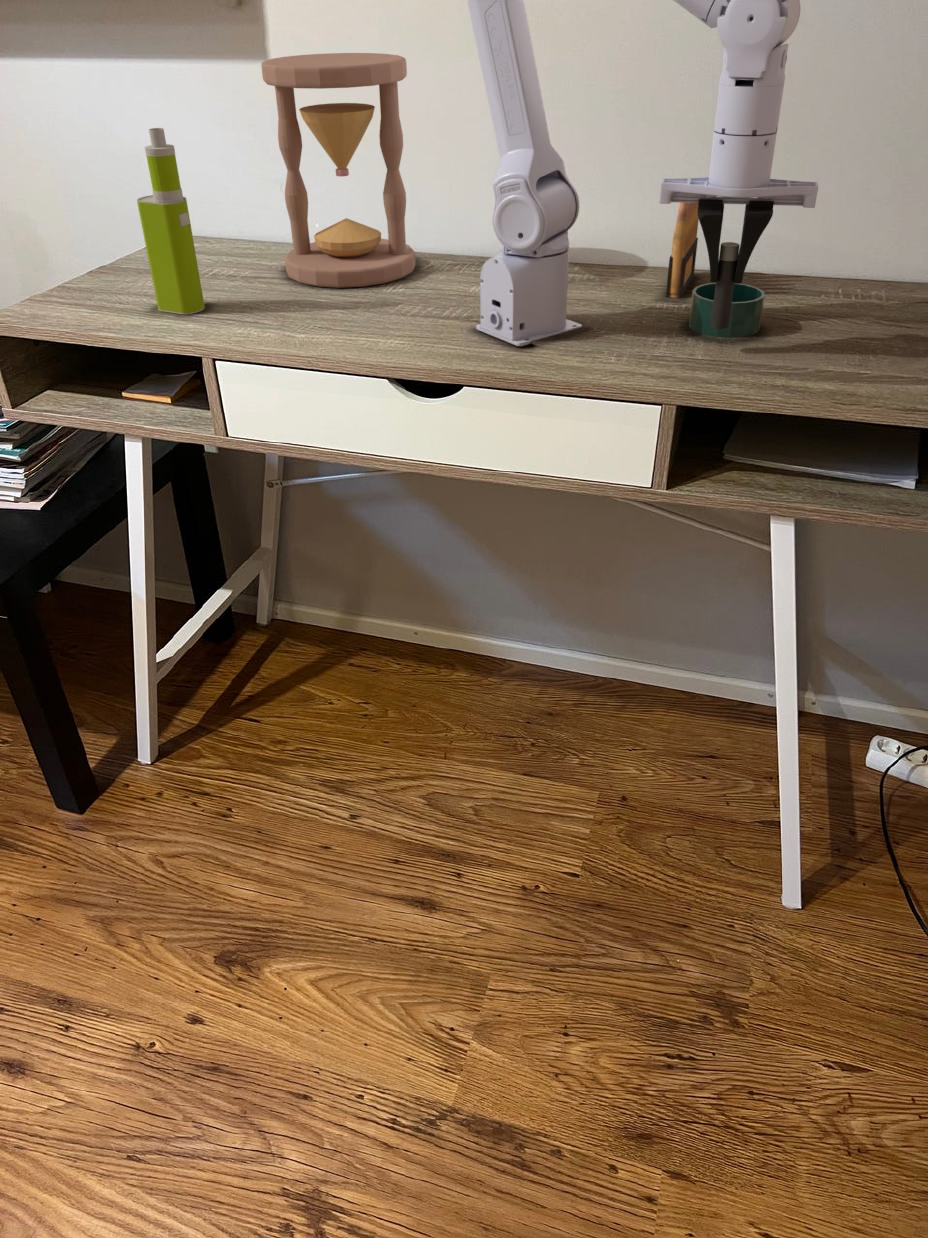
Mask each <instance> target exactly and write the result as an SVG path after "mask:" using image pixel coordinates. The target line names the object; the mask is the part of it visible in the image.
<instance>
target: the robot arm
mask: <svg viewBox="0 0 928 1238" xmlns="http://www.w3.org/2000/svg"><path fill="white" fill-rule="evenodd" d="M466 1H467V6H468V10H469V11H468V12H469V16H470V20H471V26H472V28H473V29H472V30H473V34H474V39H475V43H476V49H477V53H478V59H479V63H480V68H481V73H482V79H483V82H484V87H485V93H486V96H487V102H488V104H489V105H488V106H489V111H490V115H491V121H492V125H493V129H494V134H495V139H496V144H497V150H498V154H499V161H498V165H497V167H496V170H495V173H494V176H493V180H492V189H493V193H494V194H493V195H494V206H493V210H492V218H491V219H492V220H491V221H492V226H493V231H494V235H495V236H496V238H497V240H498V241H499V242H500V244H501V245H502V249H501V250H500V252H499V253H498V254H497V255H495V256H493V257H490V258H488V259H487V260H486V261H485V262H484V263H483V265H482V267H481V270H480V275H479V307H480V308H479V309H480V310H479V315H480V316H479V317H480V320H479V322H480V323H479V324H477V325H476V326H475V329H476V330H477V331H479V332H481V333H483V334H486V335H488V336H492V337H494V338H496V339H499V340H501V341H504V342H506V343H508V344H511V345H513V346H515V347H524V346H527V345H531V344H533V342H534V341H538V340H541V339H542V340H543V339H546V338H549V337H553V336H556V335H559V334H564V333H567V332H571V331H573V330H577V329H581V328H583V324H581V323H579V322H576V321H573V320H570V319H567V312H568V311H567V310H568V309H567V308H568V307H567V306H568V288H569V287H568V284H569V260H570V240H569V230H571V228H572V227H573V226H574V225H575V223H576V221H577V220H578V217H579V214H580V198H579V194H578V192H577V190H576V188H575V186H574V184H573V183H572V182H571V181H570V179H569V177H568V175H567V172H566V167H565V162H564V159H563V157H561V155H560V154H559V153H558V152H557V150H556V149H555V147H554V146H553V145H552V143H551V139H550V133H549V128H548V123H547V117H546V111H545V105H544V101H543V95H542V90H541V85H540V80H539V75H538V74H539V73H538V68H537V64H536V58H535V51H534V47H533V41H532V36H531V31H530V26H529V20H528V15H527V10H526V5H525V0H466ZM672 1H674V2H675V3H676V4H677V5H678V6H680V7H681V8H682V9H684V10H686V11H687V12H688V13H689V14H691V15H692V16H694V17H695V18H697V20H699V21H701V22H702V23H704V24H705V25H706V26H707V27H709V28H711V29H715V28H717V34H718V37H719V40H720V43H721V45H722V46H723V48H724V49H723V58H722V67H721V73H720V76H719V82H718V83H719V84H718V91H717V102H716V108H715V109H716V110H715V119H714V126H713V127H714V128H713V134H712V135H713V137H712V144H711V154H710V162H709V171H708V176H707V177H705V176H704V177H703V176H702V177H682V178H681V177H680V178H662V179H661V181H660V191H659V201H658V202H659V203H658V204H661V205H663V204H664V205H667V204H668V205H669V204H671V203H680V202H681V203H698V211H697V214H698V218H699V220H698V222H699V224H700V227H701V231H702V233H703V237H704V241H705V244H706V249H707V250H706V251H707V255H708V262H709V283H717V277H718V264H719V256H720V246H721V237H722V228H723V222H724V212H725V210H724V209H725V205H745V206H744V215H743V223H742V232H741V239H740V244H739V245H740V246H739V253H738V259H737V260H738V261H737V267H736V272H735V280H734V283H736V284H743V283H742V282H743V277H744V274H745V271H746V268H747V266H748V263H749V260H750V259H751V258H750V257H751V256H752V253H753V251H754V249H755V247H756V246H757V244H758V242H759V240H760V238H761V236H762V234H763V233H764V231H765V230H766V228H767V226H768V225H769V223H770V222H771V220H772V219H773V216H774V206H791V207H792V206H793V207H795V206H798V207H802V208H807V209H815V207H816V203H817V196H818V191H819V184H818V182H817V181H800V180H790V179H789V180H787V179H779V178H771V175H772V169H773V161H774V157H775V156H774V155H775V147H776V141H777V135H778V130H779V129H778V127H779V121H780V115H781V107H782V102H783V101H782V100H783V94H784V88H785V87H784V86H785V83H786V81H785V80H786V73H785V72H786V65H787V60H788V51H789V43H786V42H787V41H788V40H789V38H791V36H792V35H793V34H794V32H795V30H796V28H797V26H798V23H799V22H800V17H801V1H800V0H672Z"/></svg>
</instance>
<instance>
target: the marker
mask: <svg viewBox="0 0 928 1238" xmlns="http://www.w3.org/2000/svg"><path fill="white" fill-rule="evenodd" d="M740 245H741V244H740V243H738V242H734V241H725V242H722V243H720V247H719V264H718V277H717V283H716V288H715V296H714V304H713V312H712V320H711V327H712V328H715V329H726V328H728V327H729V320H730V312H731V305H732V298H733V290H734V280H735V272H736V267H737V261H738V260H737V259H738V254H739V249H740Z"/></svg>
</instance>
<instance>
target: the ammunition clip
mask: <svg viewBox="0 0 928 1238" xmlns="http://www.w3.org/2000/svg"><path fill="white" fill-rule="evenodd" d="M697 211H698V203H681V202H679V206H678V209H677V216H676V221H675V228H674V231H673V235H672V246H671V253H670V254H671V255H670V256H669V259H668V269H667V279H666V289H665V298H668V297H669V298H675V299H676V298H678V299H681V298H682V297H683V295H684V293H685V292H686V290H687V288H688V286H689V285H690V283H691V281H692V279H693V277H694V275H695V271H696V270H695V268H696V260H697V250H698V241H699V238H698V229H699V228H698V227H699V218H698V214H697Z"/></svg>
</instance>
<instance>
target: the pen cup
mask: <svg viewBox="0 0 928 1238" xmlns="http://www.w3.org/2000/svg"><path fill="white" fill-rule="evenodd" d="M715 288H716V283H713V282H709V283H703V284H699V285H698V286H695V287H694V288H693V289H692V292H691V299H690V308H689V317H688V327H689V328H690V329H691V330H692V331H694V332H696V333H698V334H701V335H705V336H709V337H715V338H723V339H724V338H728V339H729V338H730V339H732V338H734V339H735V338H744V337H749V336H752V335H755V334H757V333H758V332H759V331H760V329H761V324H762V317H763V313H764V312H763V310H764V304H765V298H766V293H765V292H764V290H762V289H760V288H759V287H757V286H753V285H750V284H745V283H741V284H736V283H734V290H733V298H732V305H731V312H730V320H729V327H728V328H726V329H715V328H712V327H711V320H712V312H713V304H714V296H715Z"/></svg>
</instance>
